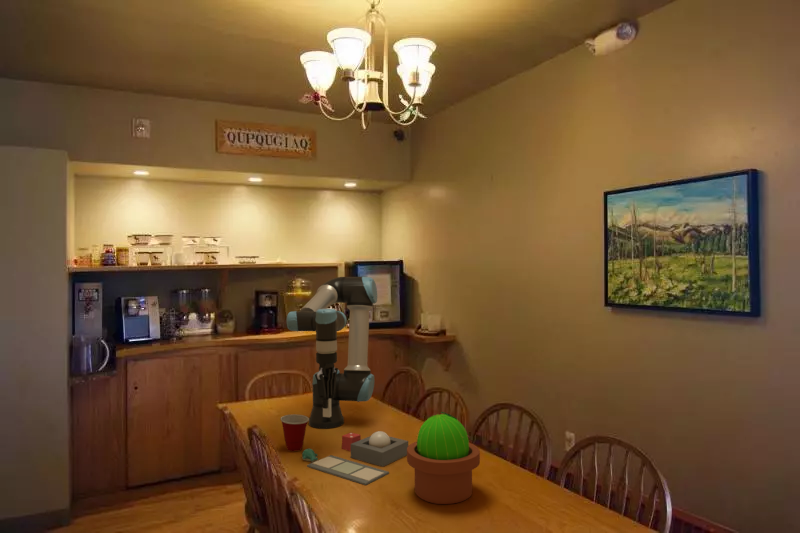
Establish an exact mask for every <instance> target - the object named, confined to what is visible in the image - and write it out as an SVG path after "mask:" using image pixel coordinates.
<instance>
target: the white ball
mask: <svg viewBox="0 0 800 533" xmlns="http://www.w3.org/2000/svg"><path fill="white" fill-rule="evenodd" d="M370 436H371V437H370V439H369V445H370V446H374V447H377V448H381V449H382V448H384V447H386V446H388V445H390V444H391V441H390V438H389V435H388V434H387V433H386V432H385V431H382V430H379V431H375V432H373V433H372V434H371V435H370Z"/></svg>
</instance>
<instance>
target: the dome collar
mask: <svg viewBox="0 0 800 533" xmlns="http://www.w3.org/2000/svg"><path fill="white" fill-rule="evenodd" d="M388 436H389V435H388ZM370 437H371V435H369V436H366V437H365V438H361V440H359V441H357V442H355V443H352V444H351V451H350V458H351V459H354V460H358V461H360V462H364V463H368V464H371V465H375V466H379V467H385V466H388V465H389V464H392V463H393V462H396V461H398V460H400V459H402V458H405V457H407V447H408V446H409V440H406V439H401V438H396V437H393V436H389V438H390V441H391V444H390V445H388V446H386V447H384V448H382V449H381V448H377V447H374V446H370V445H369V439H370Z"/></svg>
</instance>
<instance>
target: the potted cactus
mask: <svg viewBox="0 0 800 533" xmlns="http://www.w3.org/2000/svg"><path fill="white" fill-rule="evenodd" d="M440 413H441V414H439V413H437V414H436V415H435V414H434V415H431V416H429V417H427V420H426V419H425V421H422V424H421V426H420V428H419V430H418V433H417V434H416V436H417V438H415V439H416V441H415V442H412V443H410V444H408V447H407V455H406V463H407V464H408V465H409V466H410V467H411V468H412V469H414V492H415V494H416V496H418V498H420V499H422V500H423V501H425V502H428V503H431V504H436V505H451V504H457V503H461V502H464V501H466V500H468V499H469V498H471V496H472V495H473V494H472V493H473V470H475V469H476V468H478V467H479V466H480V463H481V462H480V461H481V453H480V451H481V450H480V449H479V447H477V446H476V445H475V444H474V443H472V442H470V440H469V439H470V435H468V432H467V429H466V428H465V427H464V424H462V423H461V422H460V420H459V419H458V418H457V417H455V416H453V415H452V414H450V413H447V412H445V411H444V412H443V411H441V412H440Z"/></svg>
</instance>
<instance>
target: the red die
mask: <svg viewBox="0 0 800 533" xmlns="http://www.w3.org/2000/svg"><path fill="white" fill-rule="evenodd" d="M359 440H362V438H361V434H359V433H356V432H355V433H354V432H349V433H346V434H344V435H341V449H342V450H345V451H349V452H351V444H352V443H355V442H357V441H359Z"/></svg>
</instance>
